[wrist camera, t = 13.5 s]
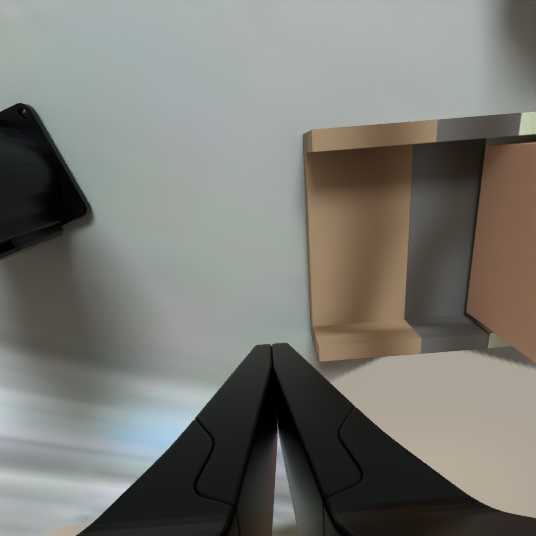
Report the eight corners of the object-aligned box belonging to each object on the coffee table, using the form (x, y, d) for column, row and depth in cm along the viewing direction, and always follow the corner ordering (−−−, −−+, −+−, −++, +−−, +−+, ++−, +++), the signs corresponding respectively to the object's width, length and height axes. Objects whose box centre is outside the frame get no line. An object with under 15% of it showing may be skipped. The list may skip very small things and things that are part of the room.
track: (311, 332, 23) (319, 361, 20) (302, 134, 19) (311, 129, 16) (585, 310, 23) (639, 336, 20) (634, 107, 19) (711, 97, 16)
